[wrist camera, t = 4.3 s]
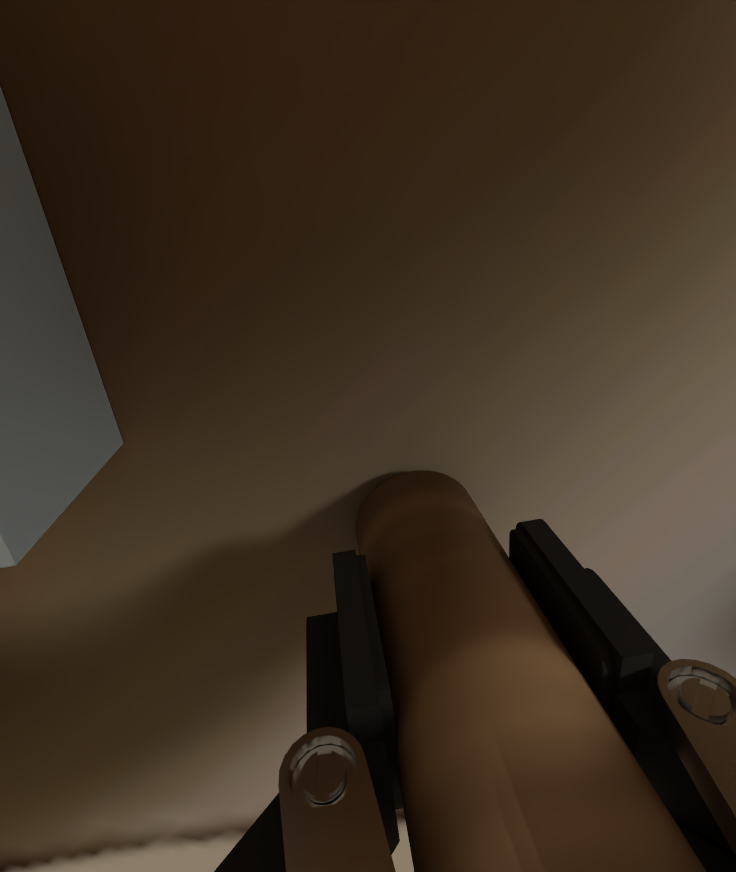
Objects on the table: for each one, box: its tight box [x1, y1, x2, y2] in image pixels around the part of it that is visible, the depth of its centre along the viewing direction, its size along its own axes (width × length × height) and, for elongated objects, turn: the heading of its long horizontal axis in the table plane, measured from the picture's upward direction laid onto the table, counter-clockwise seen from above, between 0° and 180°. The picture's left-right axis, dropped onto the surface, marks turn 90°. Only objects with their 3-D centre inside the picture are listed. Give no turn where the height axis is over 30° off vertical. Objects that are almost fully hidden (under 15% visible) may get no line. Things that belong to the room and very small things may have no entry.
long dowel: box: [356, 470, 706, 872], centre depth 8 cm, size 4×4×12 cm
